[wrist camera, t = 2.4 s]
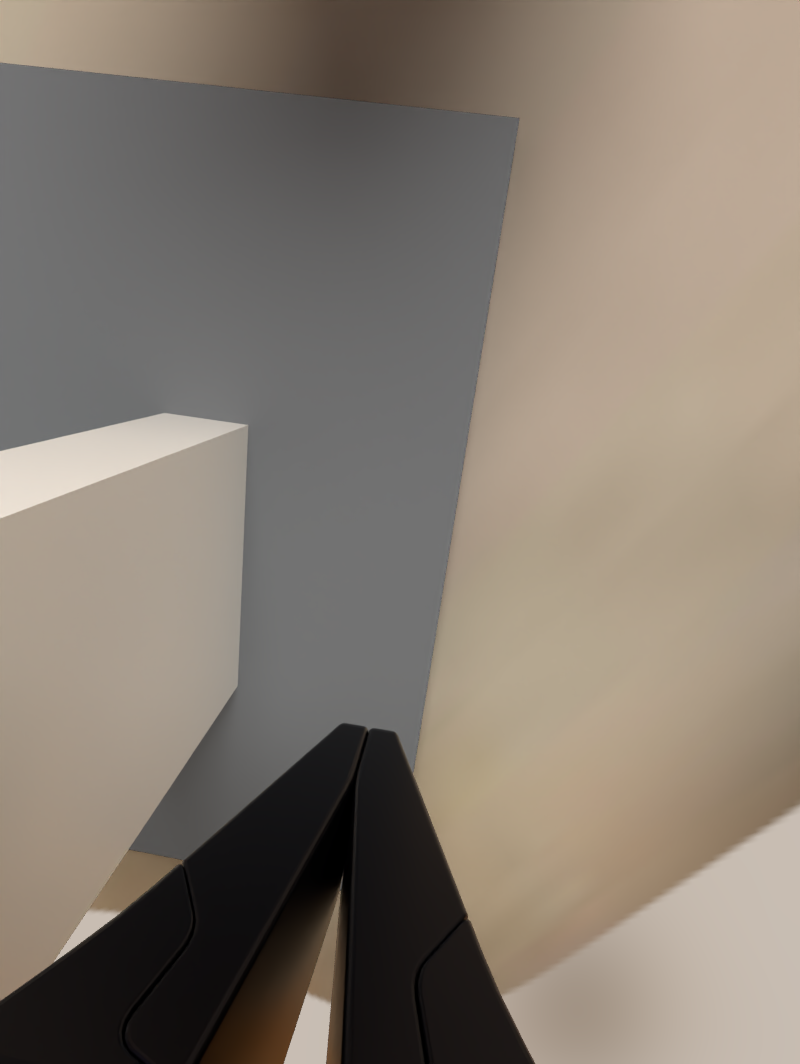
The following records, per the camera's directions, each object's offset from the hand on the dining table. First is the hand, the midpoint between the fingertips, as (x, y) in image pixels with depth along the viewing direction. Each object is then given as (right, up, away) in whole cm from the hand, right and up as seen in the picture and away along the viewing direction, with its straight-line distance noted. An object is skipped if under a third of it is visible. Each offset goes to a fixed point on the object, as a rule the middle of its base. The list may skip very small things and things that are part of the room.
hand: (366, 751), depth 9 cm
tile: (-4, +3, +6) cm, 8 cm away
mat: (-8, +4, +7) cm, 12 cm away
